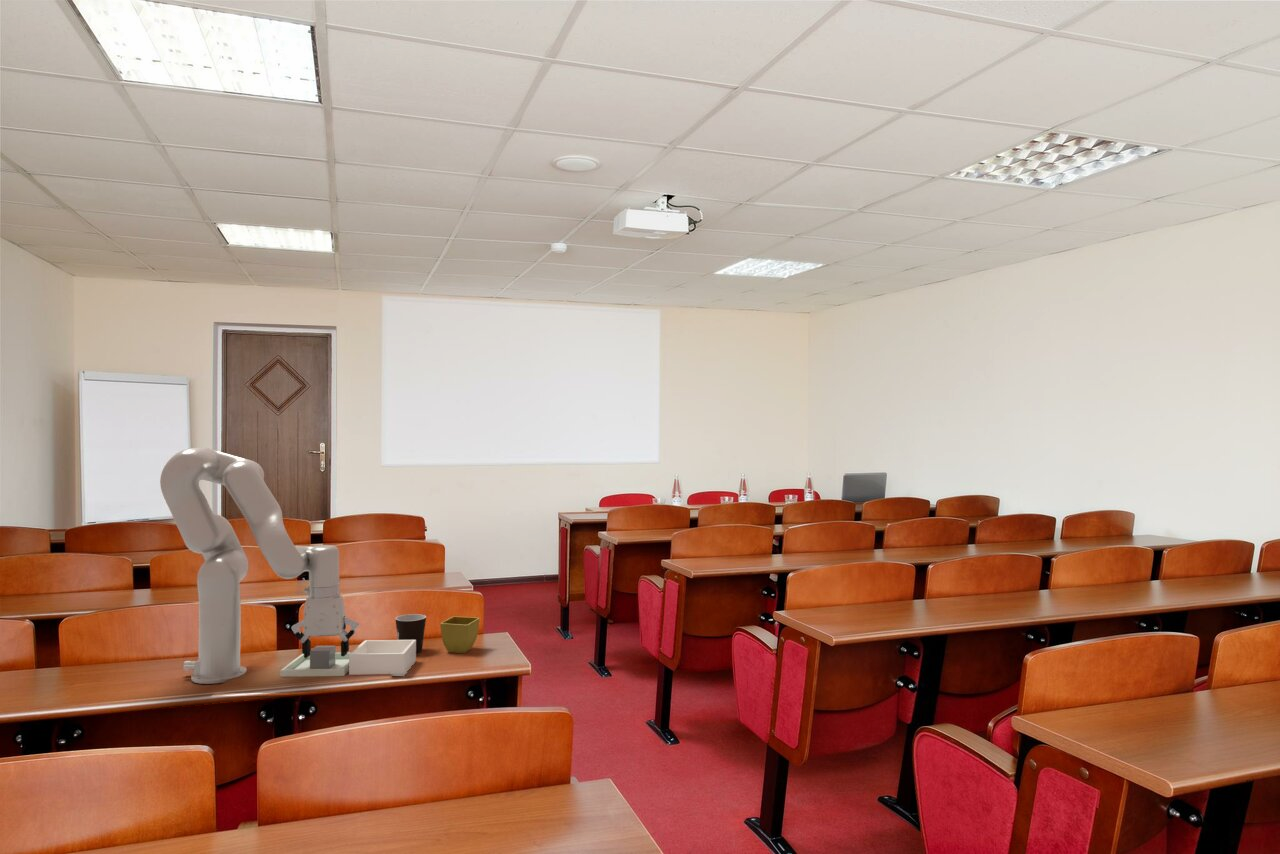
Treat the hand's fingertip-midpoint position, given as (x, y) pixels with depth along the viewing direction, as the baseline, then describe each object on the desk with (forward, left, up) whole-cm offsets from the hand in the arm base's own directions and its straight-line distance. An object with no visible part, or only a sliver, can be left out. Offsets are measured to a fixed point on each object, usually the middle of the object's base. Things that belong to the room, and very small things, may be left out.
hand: (325, 655), depth 207 cm
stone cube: (-1, 0, -3) cm, 3 cm away
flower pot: (+33, +17, -4) cm, 37 cm away
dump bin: (+15, 0, -4) cm, 16 cm away
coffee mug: (+19, +18, -4) cm, 26 cm away
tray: (-1, 0, -4) cm, 4 cm away
